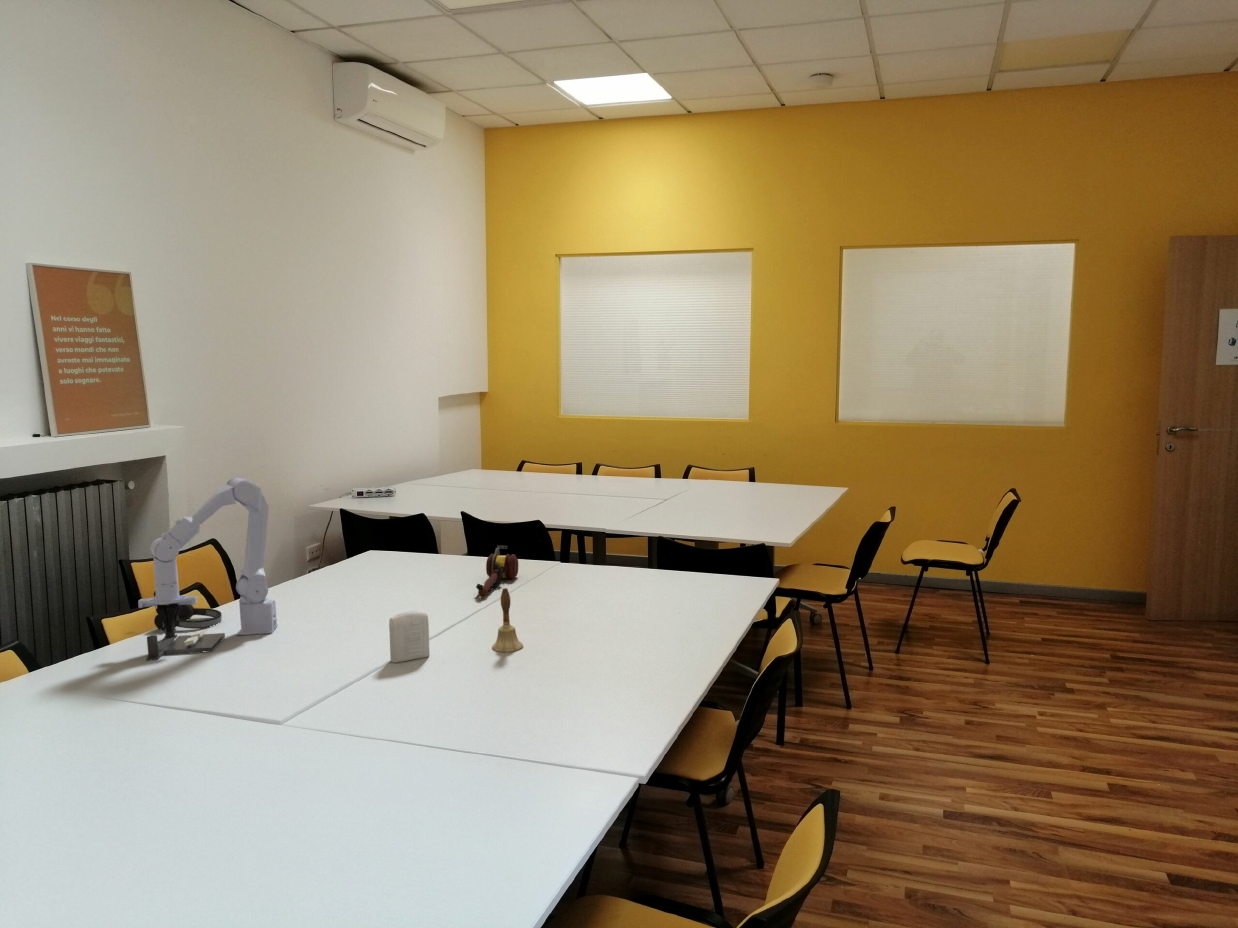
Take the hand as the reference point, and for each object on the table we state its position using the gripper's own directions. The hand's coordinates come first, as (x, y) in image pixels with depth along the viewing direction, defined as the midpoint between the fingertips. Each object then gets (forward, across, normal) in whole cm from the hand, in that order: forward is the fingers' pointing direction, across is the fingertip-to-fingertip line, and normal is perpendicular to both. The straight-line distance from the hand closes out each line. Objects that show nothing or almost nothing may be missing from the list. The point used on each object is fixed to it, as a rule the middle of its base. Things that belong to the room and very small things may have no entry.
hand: (170, 631), depth 250 cm
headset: (+5, -3, +23) cm, 24 cm away
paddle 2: (+2, +6, +3) cm, 7 cm away
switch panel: (+4, +6, 0) cm, 8 cm away
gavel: (+5, +88, +48) cm, 100 cm away
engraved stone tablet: (+5, +65, -23) cm, 69 cm away
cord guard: (+5, -2, 0) cm, 5 cm away
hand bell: (+5, +90, -19) cm, 92 cm away
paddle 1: (+2, +6, -3) cm, 7 cm away
